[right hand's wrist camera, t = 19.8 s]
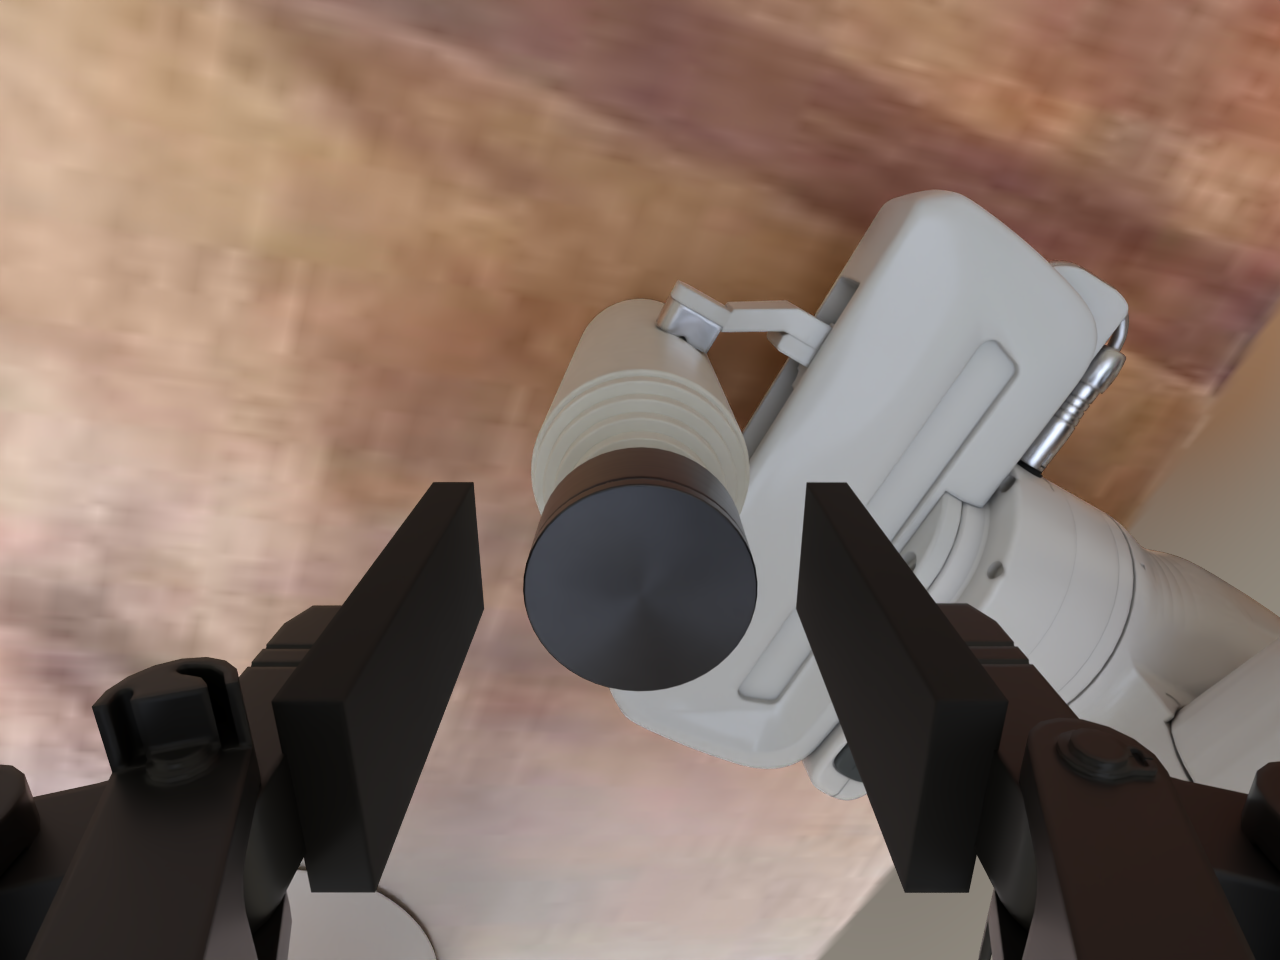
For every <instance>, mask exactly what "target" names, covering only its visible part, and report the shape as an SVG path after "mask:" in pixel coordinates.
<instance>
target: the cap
mask: <svg viewBox="0 0 1280 960" xmlns="http://www.w3.org/2000/svg"><path fill="white" fill-rule="evenodd" d="M757 587H758V581H757V574H756V567H755V564H754V561H753V557H752V554H751V551H750V548H749V544H748V541H747V538H746V535H745V532H744V529H743V525H742V522H741V519H740V516H739V513H738V510H737V508H736V506H735V503H734V501H733V499H732V497H731V496H730V494H729V493H728V491H727V490H726V488H725V487H724V486H723V485H722V483H721V482H720V481H719V480H718V479H717V478H716V477H715V476H714V475H713V474H712V473H711V472H709V471H708V470H707V469H706V468H704V467H703V466H701V465H700V464H698V463H697V462H695V461H693V460H691V459H689V458H687V457H685V456H683V455H680V454H677V453H674V452H671V451H667V450H662V449H658V448H647V447H635V448H624V449H618V450H614V451H610V452H607V453H604V454H601V455H598V456H596V457H594V458H592V459H589V460H588V461H586V462H584V463H583V464H581V465H579V466H578V467H576V468H575V469H574V470H573V471H572V472H570V473H569V474H568V475H567V476H566V477H565V478H564V479H563V480H562V481H561V482H560V483H559V484H558V485H557V487H556V488H555V490H554V491H553V492H552V494H551V495H550V497H549V499H548V501H547V503H546V505H545V507H544V510H543V513H542V516H541V519H540V522H539V525H538V528H537V531H536V534H535V538H534V541H533V544H532V547H531V550H530V553H529V557H528V560H527V563H526V568H525V573H524V583H523V593H524V602H525V607H526V611H527V615H528V618H529V620H530V623H531V625H532V628H533V630H534V632H535V633H536V635H537V637H538V638H539V640H540V642H541V643H542V644H543V646H544V647H545V648H546V649H547V651H548V652H549V653H550V654H551V655H552V656H553V657H554V658H555V659H556V660H557V661H558V662H559V663H561V664H562V665H563V666H565V667H566V668H567V669H569V670H570V671H572V672H573V673H575V674H577V675H578V676H580V677H582V678H584V679H586V680H589V681H591V682H593V683H595V684H599V685H602V686H605V687H609V688H613V689H619V690H625V691H655V690H662V689H668V688H672V687H676V686H679V685H682V684H685V683H688V682H690V681H693V680H695V679H697V678H699V677H701V676H702V675H704V674H706V673H708V672H709V671H711V670H712V669H714V668H715V667H716V666H718V665H719V664H720V663H721V662H722V661H724V660H725V659H726V658H727V657H728V656H729V655H730V654H731V653H732V651H733V650H734V649H735V648H736V647H737V646H738V644H739V643H740V641H741V640H742V638H743V637H744V635H745V633H746V631H747V629H748V627H749V625H750V623H751V620H752V617H753V614H754V611H755V607H756V601H757Z"/></svg>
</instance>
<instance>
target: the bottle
mask: <svg viewBox="0 0 1280 960" xmlns="http://www.w3.org/2000/svg"><path fill="white" fill-rule="evenodd" d="M664 304H665V303H662V302H659V301H655V300H651V299H631V300H625V301H622V302H619V303H616V304H614V305H612V306H609V307H608V308H606V309H605V310H603V311H602V312H600V313H599V314H598V315H597V316H596V317H595V318H594V319H593V320H592V321H591V322H590V323H589V324H588V326H587V327H586V329H585V331H584V332H583V334H582V336H581V338H580V341H579V343H578V345H577V348H576V350H575V352H574V354H573V357H572V359H571V361H570V363H569V366H568V368H567V370H566V372H565V375H564V377H563V379H562V382H561V384H560V386H559V388H558V391H557V393H556V395H555V397H554V400H553V402H552V404H551V406H550V409H549V411H548V413H547V416H546V418H545V420H544V422H543V425H542V427H541V429H540V431H539V434H538V436H537V439H536V443H535V446H534V450H533V455H532V461H531V479H532V488H533V492H534V496H535V500H536V503H537V506H538V509H539V512H540V514H541V516H542V513H543V510H544V507H545V505H546V503H547V501H548V499H549V497H550V495H551V494H552V492H553V491H554V490H555V488H556V487H557V485H558V484H559V483H560V482H561V481H562V480H563V479H564V478H565V477H566V476H567V475H568V474H569V473H570V472H572V471H573V470H574V469H575V468H576V467H578V466H579V465H581V464H583V463H584V462H586V461H588V460H589V459H592V458H594V457H596V456H598V455H601V454H604V453H607V452H610V451H614V450H618V449H624V448H635V447H647V448H658V449H662V450H667V451H671V452H674V453H677V454H680V455H683V456H685V457H687V458H689V459H691V460H693V461H695V462H697V463H698V464H700V465H701V466H703V467H704V468H706V469H707V470H708V471H709V472H711V473H712V474H713V475H714V476H715V477H716V478H717V479H718V480H719V481H720V482H721V483H722V485H723V486H724V487H725V488H726V490H727V491H728V493H729V494H730V496H731V497H732V499H733V501H734V503H735V506H736V508H737V510H738V513H739V516H740V514H741V511H742V508H743V505H744V502H745V499H746V496H747V492H748V486H749V479H750V464H749V457H748V450H747V447H746V443H745V440H744V437H743V435H742V432H741V430H740V428H739V426H738V423H737V421H736V419H735V417H734V414H733V412H732V410H731V407H730V405H729V403H728V401H727V398H726V396H725V394H724V392H723V389H722V387H721V385H720V383H719V380H718V378H717V376H716V373H715V371H714V369H713V367H712V364H711V362H710V360H709V358H708V355H707V354H706V353H704V352H702V351H700V350H698V349H696V348H694V347H693V346H692V345H690V344H689V343H687V340H686V338H685V336H679V337H677V336H675V335H672V334H669V333H667V332H666V331H664V330H663V329H661V328H660V327H659V326H657V324H656V323H657V322H656V319H657V317H658V315H659V314H660V312H661V310H662V308H663V306H664Z"/></svg>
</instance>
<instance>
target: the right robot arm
mask: <svg viewBox="0 0 1280 960" xmlns="http://www.w3.org/2000/svg"><path fill="white" fill-rule="evenodd" d="M483 610H484V602H483V590H482V578H481V566H480V554H479V542H478V530H477V518H476V507H475V495H474V483H473V482H433V483H432V485H431V486H430V487H429V489H428V490H427V492H426V493H425V494H424V496H423V497H422V498H421V500H420V501H419V502H418V504H417V505H416V506H415V508H414V509H413V510H412V512H411V513H410V514H409V516H408V517H407V519H406V520H405V521H404V523H403V524H402V525H401V527H400V528H399V529H398V531H397V532H396V533H395V535H394V536H393V537H392V539H391V540H390V542H389V543H388V544H387V546H386V547H385V548H384V550H383V551H382V552H381V554H380V555H379V556H378V558H377V559H376V560H375V562H374V563H373V565H372V566H371V567H370V569H369V570H368V571H367V573H366V574H365V575H364V577H363V578H362V579H361V581H360V582H359V583H358V585H357V586H356V587H355V589H354V590H353V592H352V593H351V594H350V596H349V597H348V598H347V600H346V601H345V602H344V604H343V605H342V606H312V607H310V608H308V609H307V610H305V611H304V612H302V613H300V614H299V615H297V616H296V617H294V618H292V619H291V620H289V621H288V622H286V623H284V625H283V626H282V627H281V628H280V629H279V630H278V632H277V633H276V634H275V635H274V636H273V638H272V639H271V640H270V641H269V642H268V643H267V645H266V646H267V647H266V649H262V651H261V652H260V653H259V654H258V655H257V656H256V658H255V659H254V660H253V661H252V665H251V667H247V668H246V669H245V671H244V672H243V673H242V674H241V675H240V677H238V672H237V669H236V668H235V667H233V666H232V665H231V664H229V663H228V662H227V661H225V660H219V659H214V658H209V657H201V658H186V659H179V660H175V661H171V662H167V663H163V664H159V665H155V666H152V667H150V668H147V669H145V670H143V671H140V672H138V673H136V674H133V675H131V676H128V677H127V678H125V679H124V680H122V681H121V682H119V683H117V684H116V685H114V686H113V687H111V688H110V689H108V690H107V691H105V693H104V694H103V695H102V696H101V697H100V698H99V699H98V700H97V702H96V703H95V704H94V705H93V706H92V709H93V712H94V715H95V718H96V722H97V725H98V728H99V731H100V734H101V738H102V741H103V744H104V747H105V750H106V754H107V757H108V760H109V763H110V767H111V770H112V774H111V777H110V779H109V780H108V781H104V782H101V783H97V784H92V785H88V786H83V787H78V788H74V789H69V790H64V791H60V792H55V793H50V794H46V795H41V796H36V797H33V796H32V794H31V791H30V788H29V785H28V783H27V780H26V777H25V774H23V773H22V772H21V771H19V770H18V769H16V768H15V767H14V766H11V765H0V960H288V952H289V943H290V935H291V926H292V917H291V910H290V903H289V899H288V894H287V889H288V887H289V885H290V883H291V881H292V879H293V877H294V875H295V873H296V871H297V869H298V867H299V865H300V863H301V861H302V860H303V858H304V860H305V865H306V870H307V875H308V879H309V884H310V889H311V893H375V891H376V889H377V886H378V884H379V881H380V878H381V876H382V873H383V871H384V868H385V865H386V863H387V860H388V858H389V855H390V852H391V850H392V847H393V845H394V842H395V839H396V837H397V834H398V832H399V829H400V826H401V824H402V821H403V819H404V816H405V813H406V811H407V808H408V806H409V803H410V800H411V798H412V795H413V793H414V790H415V787H416V785H417V782H418V780H419V777H420V774H421V772H422V769H423V767H424V764H425V761H426V759H427V756H428V754H429V751H430V748H431V746H432V743H433V741H434V738H435V735H436V733H437V730H438V728H439V725H440V722H441V720H442V717H443V714H444V712H445V709H446V707H447V704H448V701H449V699H450V696H451V694H452V691H453V688H454V686H455V683H456V681H457V678H458V675H459V673H460V670H461V668H462V665H463V662H464V660H465V657H466V655H467V652H468V649H469V647H470V644H471V642H472V639H473V636H474V634H475V631H476V629H477V626H478V623H479V621H480V618H481V616H482V613H483ZM796 610H797V613H798V616H799V618H800V621H801V623H802V626H803V629H804V631H805V634H806V636H807V639H808V642H809V644H810V647H811V649H812V652H813V655H814V657H815V660H816V662H817V665H818V668H819V670H820V673H821V675H822V678H823V681H824V683H825V686H826V688H827V691H828V694H829V696H830V699H831V701H832V704H833V707H834V709H835V712H836V714H837V717H838V720H839V722H840V725H841V728H842V730H843V733H844V735H845V738H846V741H847V743H848V746H849V748H850V751H851V754H852V756H853V759H854V761H855V764H856V767H857V769H858V772H859V774H860V777H861V780H862V782H863V785H864V787H865V790H866V793H867V795H868V798H869V800H870V803H871V806H872V808H873V811H874V813H875V816H876V819H877V821H878V824H879V826H880V829H881V832H882V834H883V837H884V839H885V842H886V845H887V847H888V850H889V852H890V855H891V858H892V860H893V863H894V865H895V868H896V871H897V873H898V876H899V878H900V881H901V884H902V886H903V889H904V891H905V893H968V892H969V889H970V884H971V879H972V875H973V870H974V865H975V860H976V856H978V858H979V860H980V862H981V863H982V865H983V867H984V869H985V871H986V873H987V875H988V877H989V879H990V881H991V883H992V885H993V887H994V890H993V895H992V899H991V903H990V908H989V912H988V917H987V921H986V926H985V930H984V935H983V939H982V943H981V948H980V953H979V960H990V959H991V955H992V958H993V960H1280V761H1278V762H1269V763H1267V764H1266V765H1264V766H1263V767H1262V768H1260V769H1259V770H1257V772H1256V774H1255V777H1254V780H1253V783H1252V785H1251V788H1250V791H1249V794H1246V793H1241V792H1236V791H1232V790H1227V789H1222V788H1217V787H1213V786H1208V785H1203V784H1199V783H1194V782H1189V781H1184V780H1181V779H1177V778H1173V777H1170V775H1169V773H1168V771H1167V770H1166V769H1165V767H1164V766H1163V765H1162V763H1161V762H1160V761H1159V759H1158V758H1157V757H1156V755H1155V754H1154V753H1152V752H1151V751H1150V750H1148V749H1147V748H1146V747H1144V746H1143V745H1142V744H1140V743H1139V742H1138V741H1136V740H1135V739H1133V738H1131V737H1129V736H1127V735H1125V734H1123V733H1121V732H1119V731H1117V730H1115V729H1113V728H1111V727H1108V726H1105V725H1101V724H1098V723H1094V722H1090V721H1087V720H1083V719H1079V718H1078V717H1077V715H1076V714H1075V713H1074V712H1073V711H1072V710H1071V708H1070V707H1069V706H1068V705H1067V704H1066V703H1065V701H1064V700H1063V699H1062V698H1061V697H1060V695H1059V694H1058V693H1057V692H1056V691H1055V690H1054V688H1053V687H1052V686H1051V685H1050V684H1049V683H1048V681H1047V680H1046V679H1045V678H1044V677H1043V676H1042V674H1041V673H1040V672H1039V671H1038V670H1037V668H1036V667H1035V666H1034V665H1033V664H1029V659H1028V658H1027V657H1026V656H1025V654H1024V653H1023V652H1022V651H1021V650H1020V649H1019V647H1018V646H1014V641H1013V640H1012V639H1011V638H1010V637H1009V636H1008V634H1007V633H1006V632H1005V631H1004V630H1003V629H1002V627H1001V626H1000V625H999V624H998V623H997V622H996V621H995V620H994V619H992V618H990V617H989V616H987V615H985V614H984V613H982V612H981V611H979V610H977V609H976V608H974V607H973V606H971V605H969V604H968V603H936V602H935V601H934V600H933V598H932V597H931V596H930V594H929V593H928V592H927V590H926V589H925V587H924V586H923V585H922V583H921V582H920V581H919V579H918V578H917V577H916V575H915V574H914V573H913V571H912V570H911V569H910V567H909V566H908V565H907V563H906V562H905V560H904V559H903V558H902V556H901V555H900V554H899V552H898V551H897V550H896V548H895V547H894V546H893V544H892V543H891V542H890V540H889V539H888V537H887V536H886V535H885V533H884V532H883V531H882V529H881V528H880V527H879V525H878V524H877V523H876V521H875V520H874V519H873V517H872V516H871V514H870V513H869V512H868V510H867V509H866V508H865V506H864V505H863V504H862V502H861V501H860V500H859V498H858V497H857V496H856V494H855V493H854V492H853V490H852V489H851V487H850V486H849V485H848V483H847V482H807V483H806V495H805V507H804V518H803V530H802V542H801V554H800V566H799V578H798V590H797V602H796Z"/></svg>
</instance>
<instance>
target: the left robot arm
mask: <svg viewBox="0 0 1280 960" xmlns="http://www.w3.org/2000/svg"><path fill="white" fill-rule="evenodd" d="M656 322H657V323H656V324H657V326H659V327H660V328H661V329H663V330H664V331H666V332H667V333H669V334H672V335H675V336H677V337H679V336H685V338H686V340H687V343H689V344H690V345H692V346H693V347H694V348H696V349H698V350H700V351H702V352H704V353H706V354H707V352H708V351H709V349H710V347H711V346H712V344H713V342H714V341H715V339H716V337H717V336H718V334H719V333H720V331H721V332H768V333H767V339H768V340H769V341H770V342H771V343H772V344H773V345H774V346H775V348H776V349H777V350H778V351H780V352H782V353H783V354H785V355H787V356H788V359H787V360H786V362H785V364H784V365H783V367H782V368H781V370H780V372H779V373H778V375H777V377H776V378H775V380H774V381H773V383H772V385H771V386H770V388H769V389H768V391H767V393H766V394H765V396H764V398H763V399H762V401H761V402H760V404H759V406H758V407H757V409H756V410H755V412H754V414H753V415H752V417H751V419H750V420H749V422H748V423H747V425H746V427H745V428H744V430H743V431H742V435H743V437H744V440H745V443H746V447H747V450H748V457H749V464H750V479H749V486H748V492H747V496H746V499H745V502H744V505H743V508H742V511H741V514H740V519H741V522H742V525H743V529H744V532H745V535H746V538H747V541H748V544H749V548H750V551H751V554H752V557H753V561H754V564H755V567H756V574H757V581H758V587H757V601H756V607H755V611H754V614H753V617H752V620H751V623H750V625H749V627H748V629H747V631H746V633H745V635H744V637H743V638H742V640H741V641H740V643H739V644H738V646H737V647H736V648H735V649H734V650H733V651H732V653H731V654H730V655H729V656H728V657H727V658H726V659H725V660H724V661H722V662H721V663H720V664H719V665H718V666H716V667H715V668H714V669H712V670H711V671H709V672H708V673H706V674H704V675H702V676H701V677H699V678H697V679H695V680H693V681H690V682H688V683H685V684H682V685H679V686H676V687H672V688H668V689H662V690H655V691H625V690H619V689H613V688H609V689H610V691H611V694H612V696H613V698H614V700H615V701H616V703H617V705H618V707H619V708H620V710H621V712H622V713H623V714H624V715H625V716H626V717H627V718H628V719H629V720H631V721H632V722H634V723H636V724H637V725H639V726H641V727H643V728H645V729H647V730H649V731H652V732H654V733H656V734H658V735H661V736H663V737H665V738H668V739H670V740H672V741H675V742H677V743H680V744H682V745H685V746H687V747H690V748H692V749H695V750H698V751H700V752H703V753H706V754H708V755H711V756H714V757H717V758H720V759H723V760H726V761H729V762H732V763H736V764H739V765H743V766H747V767H752V768H760V769H776V768H782V767H786V766H790V765H792V764H795V763H797V762H799V761H801V760H802V762H803V765H804V767H805V769H806V771H807V773H808V776H809V778H810V780H811V782H812V784H813V785H814V786H815V787H816V788H817V789H819V790H820V791H822V792H823V793H825V794H827V795H829V796H832V797H834V798H837V799H841V800H854V799H857V798H859V797H862V796H864V795H866V794H867V793H866V790H865V787H864V785H863V782H862V780H861V777H860V774H859V772H858V769H857V767H856V764H855V761H854V759H853V756H852V754H851V751H850V748H849V746H848V743H847V741H846V738H845V735H844V733H843V730H842V728H841V725H840V722H839V720H838V717H837V714H836V712H835V709H834V707H833V704H832V701H831V699H830V696H829V694H828V691H827V688H826V686H825V683H824V681H823V678H822V675H821V673H820V670H819V668H818V665H817V662H816V660H815V657H814V655H813V652H812V649H811V647H810V644H809V642H808V639H807V636H806V634H805V631H804V629H803V626H802V623H801V621H800V618H799V616H798V613H797V610H796V602H797V590H798V578H799V566H800V554H801V542H802V530H803V518H804V507H805V495H806V483H807V482H847V483H848V485H849V486H850V487H851V489H852V490H853V492H854V493H855V494H856V496H857V497H858V498H859V500H860V501H861V502H862V504H863V505H864V506H865V508H866V509H867V510H868V512H869V513H870V514H871V516H872V517H873V519H874V520H875V521H876V523H877V524H878V525H879V527H880V528H881V529H882V531H883V532H884V533H885V535H886V536H887V537H888V539H889V540H890V542H891V543H892V544H893V546H894V547H895V548H896V550H897V551H898V552H899V554H900V555H901V556H902V558H903V559H904V560H905V562H906V563H907V565H908V566H909V567H910V569H911V570H912V571H913V573H914V574H915V575H916V577H917V578H918V579H919V581H920V582H921V583H922V585H923V586H924V587H925V589H926V590H927V592H928V593H929V594H930V596H931V597H932V598H933V600H934V601H935V602H936V603H968V604H969V605H971V606H973V607H974V608H976V609H977V610H979V611H981V612H982V613H984V614H985V615H987V616H989V617H990V618H992V619H994V620H995V621H996V622H997V623H998V624H999V625H1000V626H1001V627H1002V629H1003V630H1004V631H1005V632H1006V633H1007V634H1008V636H1009V637H1010V638H1011V639H1012V640H1013V641H1014V646H1018V647H1019V649H1020V650H1021V651H1022V652H1023V653H1024V654H1025V656H1026V657H1027V658H1028V659H1029V664H1033V665H1034V666H1035V667H1036V668H1037V670H1038V671H1039V672H1040V673H1041V674H1042V676H1043V677H1044V678H1045V679H1046V680H1047V681H1048V683H1049V684H1050V685H1051V686H1052V687H1053V688H1054V690H1055V691H1056V692H1057V693H1058V694H1059V695H1060V697H1061V698H1062V699H1063V700H1064V701H1065V703H1066V704H1067V705H1068V706H1069V707H1070V708H1071V710H1072V711H1073V712H1074V713H1075V714H1076V715H1077V717H1078V718H1079V719H1083V720H1087V721H1090V722H1094V723H1098V724H1101V725H1105V726H1108V727H1111V728H1113V729H1115V730H1117V731H1119V732H1121V733H1123V734H1125V735H1127V736H1129V737H1131V738H1133V739H1135V740H1136V741H1138V742H1139V743H1140V744H1142V745H1143V746H1144V747H1146V748H1147V749H1148V750H1150V751H1151V752H1152V753H1154V754H1155V755H1156V757H1157V758H1158V759H1159V761H1160V762H1161V763H1162V765H1163V766H1164V767H1165V769H1166V770H1167V771H1168V773H1169V775H1170V777H1173V778H1177V779H1181V780H1184V781H1189V782H1194V783H1199V784H1203V785H1208V786H1213V787H1217V788H1222V789H1227V790H1232V791H1236V792H1241V793H1246V794H1249V791H1250V788H1251V785H1252V783H1253V780H1254V777H1255V774H1256V772H1257V770H1259V769H1260V768H1262V767H1263V766H1264V765H1266V764H1267V763H1269V762H1278V761H1280V617H1278V616H1277V615H1275V614H1274V613H1273V612H1271V611H1270V610H1268V609H1267V608H1265V607H1264V606H1262V605H1261V604H1260V603H1258V602H1257V601H1255V600H1254V599H1252V598H1251V597H1249V596H1248V595H1246V594H1244V593H1243V592H1241V591H1240V590H1238V589H1236V588H1235V587H1233V586H1231V585H1230V584H1228V583H1227V582H1225V581H1223V580H1222V579H1220V578H1219V577H1217V576H1215V575H1214V574H1212V573H1210V572H1208V571H1207V570H1205V569H1203V568H1202V567H1200V566H1198V565H1196V564H1194V563H1192V562H1190V561H1188V560H1185V559H1183V558H1181V557H1178V556H1175V555H1171V554H1168V553H1164V552H1160V551H1154V550H1149V549H1145V548H1143V547H1142V546H1140V545H1139V543H1138V542H1137V541H1136V540H1135V538H1134V537H1133V536H1132V535H1131V534H1130V533H1129V532H1128V531H1127V530H1126V529H1125V528H1124V527H1123V526H1122V525H1121V524H1120V523H1119V522H1117V521H1116V520H1115V519H1113V518H1112V517H1111V516H1109V515H1108V514H1106V513H1105V512H1103V511H1101V510H1099V509H1098V508H1096V507H1094V506H1092V505H1091V504H1089V503H1087V502H1085V501H1084V500H1082V499H1080V498H1078V497H1077V496H1075V495H1073V494H1071V493H1070V492H1068V491H1066V490H1064V489H1063V488H1061V487H1059V486H1057V485H1056V484H1054V483H1052V482H1050V481H1048V480H1047V479H1045V478H1044V477H1042V475H1041V473H1042V472H1043V470H1044V469H1045V468H1046V467H1047V465H1048V464H1049V463H1050V462H1051V460H1052V459H1053V458H1054V456H1055V455H1056V454H1057V453H1058V451H1059V450H1060V449H1061V447H1062V446H1063V445H1064V444H1065V442H1066V441H1067V440H1068V438H1069V437H1070V435H1071V434H1072V432H1073V431H1074V430H1075V426H1077V425H1078V423H1079V419H1081V418H1082V416H1083V415H1084V411H1086V410H1087V409H1088V408H1089V404H1092V402H1093V401H1094V400H1095V399H1096V397H1097V396H1098V395H1099V394H1100V393H1101V394H1102V393H1103V392H1104V391H1105V390H1106V389H1107V388H1108V387H1109V386H1110V385H1111V384H1112V382H1113V381H1114V380H1115V378H1116V377H1117V375H1118V374H1119V372H1120V370H1121V368H1122V367H1123V365H1124V362H1125V360H1126V357H1125V355H1124V354H1122V353H1120V350H1121V348H1122V346H1123V344H1124V342H1125V340H1126V336H1127V332H1128V325H1129V317H1128V304H1127V302H1126V300H1125V299H1124V298H1123V296H1122V295H1121V294H1120V293H1119V292H1118V291H1117V290H1116V289H1115V288H1114V287H1113V286H1111V285H1110V284H1108V283H1107V282H1105V281H1104V280H1102V279H1100V278H1099V277H1097V276H1096V275H1094V274H1093V273H1091V272H1090V271H1088V270H1086V269H1085V268H1083V267H1082V266H1080V265H1077V264H1075V263H1072V262H1067V261H1050V262H1048V261H1047V260H1046V259H1045V258H1043V257H1042V256H1041V255H1040V254H1039V253H1038V252H1037V251H1036V250H1035V249H1034V248H1032V247H1031V246H1030V245H1029V244H1028V243H1027V242H1026V241H1024V240H1023V239H1022V238H1021V237H1020V236H1019V235H1017V234H1016V233H1015V232H1014V231H1012V230H1011V229H1010V228H1009V227H1007V226H1006V225H1005V224H1004V223H1003V222H1001V221H1000V220H999V219H997V218H996V217H995V216H993V215H992V214H991V213H989V212H988V211H986V210H985V209H984V208H982V207H981V206H979V205H978V204H977V203H975V202H974V201H972V200H970V199H969V198H967V197H965V196H964V195H962V194H959V193H956V192H952V191H947V190H935V189H934V190H925V191H920V192H915V193H911V194H907V195H903V196H900V197H896V198H893V199H891V200H889V201H887V202H886V203H885V204H884V205H883V206H882V207H881V209H880V210H879V212H878V213H877V215H876V216H875V218H874V220H873V221H872V223H871V225H870V226H869V228H868V229H867V231H866V233H865V234H864V236H863V237H862V239H861V241H860V242H859V244H858V246H857V247H856V249H855V250H854V252H853V254H852V255H851V257H850V258H849V260H848V262H847V263H846V265H845V267H844V268H843V270H842V271H841V273H840V275H839V276H838V278H837V280H836V281H835V283H834V284H833V286H832V288H831V289H830V291H829V292H828V294H827V296H826V297H825V299H824V301H823V302H822V304H821V305H820V307H819V309H818V310H817V312H816V313H815V315H814V316H813V315H811V314H810V313H808V312H806V311H804V310H803V309H801V308H799V307H797V306H796V305H794V304H792V303H790V302H789V301H787V300H771V301H739V302H727V303H726V305H724V304H722V303H720V302H719V301H717V300H715V299H713V298H711V297H710V296H708V295H706V294H704V293H703V292H701V291H699V290H697V289H696V288H694V287H692V286H690V285H689V284H687V283H684V282H682V281H680V280H677V282H676V283H675V285H674V287H673V289H672V291H671V293H670V294H669V296H668V298H667V300H666V302H665V304H664V306H663V308H662V310H661V312H660V314H659V315H658V317H657V319H656ZM1111 335H1112V336H1111ZM1110 336H1111V338H1110ZM1109 338H1110V341H1109V343H1108V345H1104V344H1105V343H1106V342H1107V340H1108V339H1109ZM287 894H288V899H289V903H290V910H291V917H292V926H291V935H290V943H289V952H288V960H436V956H435V953H434V950H433V947H432V945H431V943H430V941H429V939H428V937H427V936H426V934H425V933H424V931H423V930H422V928H421V927H420V926H419V925H418V923H417V922H416V921H415V920H414V919H413V918H412V917H411V916H410V915H409V914H408V913H407V912H406V911H405V910H404V909H402V908H401V907H400V906H399V905H397V904H396V903H395V902H393V901H392V900H390V899H389V898H387V897H385V896H384V895H382V894H380V893H379V892H377V891H375V893H311V889H310V884H309V879H308V875H307V871H305V870H297V871H296V873H295V875H294V877H293V879H292V881H291V883H290V885H289V887H288V889H287Z"/></svg>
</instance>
